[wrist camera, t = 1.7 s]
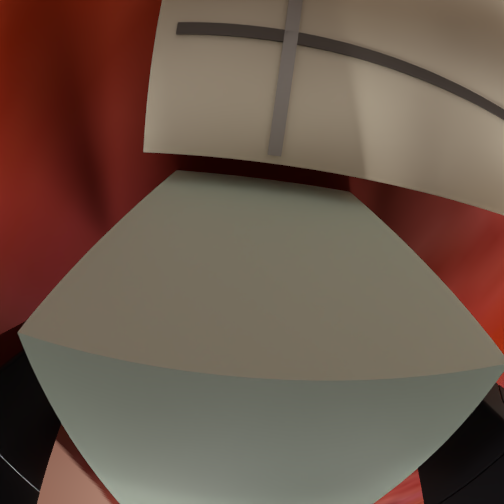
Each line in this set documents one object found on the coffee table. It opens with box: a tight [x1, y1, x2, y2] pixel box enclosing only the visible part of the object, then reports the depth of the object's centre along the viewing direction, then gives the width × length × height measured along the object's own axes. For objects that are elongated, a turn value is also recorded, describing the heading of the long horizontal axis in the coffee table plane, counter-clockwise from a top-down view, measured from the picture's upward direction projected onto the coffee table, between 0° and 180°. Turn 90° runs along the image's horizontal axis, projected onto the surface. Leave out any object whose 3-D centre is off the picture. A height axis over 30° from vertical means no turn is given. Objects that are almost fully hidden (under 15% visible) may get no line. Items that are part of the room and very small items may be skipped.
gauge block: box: [17, 170, 504, 504], centre depth 7 cm, size 10×5×7 cm, turn 173°
